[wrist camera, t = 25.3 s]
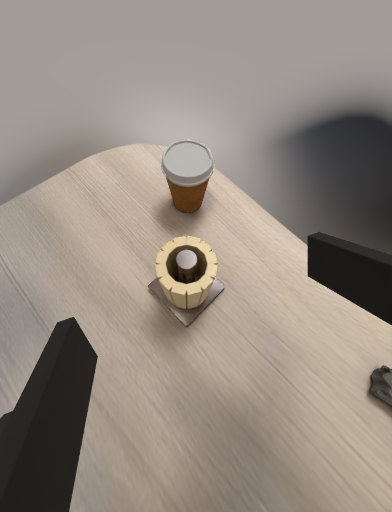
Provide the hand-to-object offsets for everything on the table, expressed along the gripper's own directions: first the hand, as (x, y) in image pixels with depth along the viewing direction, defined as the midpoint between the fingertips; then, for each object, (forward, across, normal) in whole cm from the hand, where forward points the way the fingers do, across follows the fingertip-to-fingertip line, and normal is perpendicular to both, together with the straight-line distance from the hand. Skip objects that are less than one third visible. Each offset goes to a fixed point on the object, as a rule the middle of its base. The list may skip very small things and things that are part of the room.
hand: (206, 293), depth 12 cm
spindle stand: (+24, +1, -15) cm, 29 cm away
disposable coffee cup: (+38, +8, -2) cm, 39 cm away
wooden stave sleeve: (+23, +1, -14) cm, 27 cm away
